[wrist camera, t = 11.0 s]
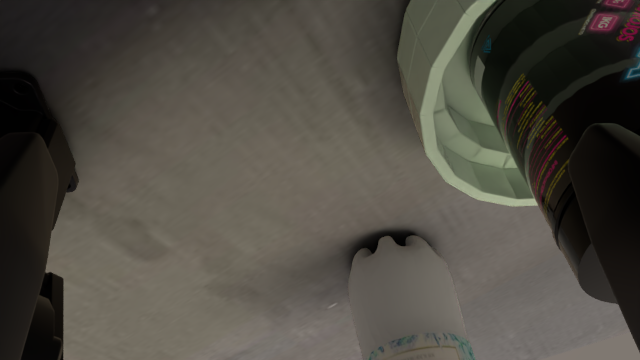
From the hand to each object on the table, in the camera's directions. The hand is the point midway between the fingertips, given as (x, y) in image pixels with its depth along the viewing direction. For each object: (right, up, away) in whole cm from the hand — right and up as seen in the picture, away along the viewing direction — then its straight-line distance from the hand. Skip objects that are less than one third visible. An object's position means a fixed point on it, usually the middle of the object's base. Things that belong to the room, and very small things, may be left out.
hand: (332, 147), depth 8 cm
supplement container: (+9, +5, +12) cm, 16 cm away
